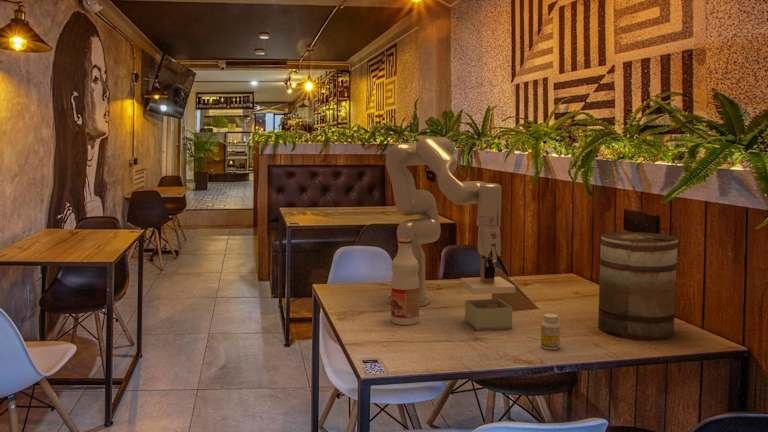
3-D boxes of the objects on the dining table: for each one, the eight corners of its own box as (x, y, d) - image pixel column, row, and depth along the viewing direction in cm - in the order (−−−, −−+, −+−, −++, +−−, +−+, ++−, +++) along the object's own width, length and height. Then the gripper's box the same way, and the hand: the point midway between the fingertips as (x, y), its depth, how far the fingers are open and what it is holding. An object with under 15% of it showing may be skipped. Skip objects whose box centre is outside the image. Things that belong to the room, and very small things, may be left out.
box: (476, 330, 204) (476, 309, 204) (464, 320, 216) (465, 300, 215) (511, 328, 207) (512, 307, 206) (498, 318, 218) (499, 298, 217)
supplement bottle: (554, 351, 184) (555, 318, 183) (537, 347, 187) (538, 315, 186) (562, 346, 188) (563, 315, 187) (546, 343, 191) (546, 311, 190)
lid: (473, 294, 202) (474, 263, 201) (460, 283, 216) (460, 254, 215) (515, 292, 205) (516, 261, 204) (499, 282, 218) (500, 253, 217)
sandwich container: (540, 309, 231) (541, 268, 229) (501, 312, 227) (501, 270, 226) (529, 303, 239) (530, 264, 238) (491, 306, 236) (492, 266, 234)
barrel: (679, 326, 208) (683, 235, 204) (667, 345, 189) (671, 244, 186) (607, 316, 220) (610, 230, 217) (589, 333, 201) (592, 238, 198)
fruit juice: (419, 325, 211) (419, 241, 208) (391, 325, 211) (390, 241, 208) (418, 317, 220) (418, 237, 217) (391, 318, 220) (390, 237, 217)
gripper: (509, 224, 200) (507, 282, 202) (491, 217, 216) (489, 271, 219) (486, 225, 199) (484, 283, 201) (469, 218, 215) (468, 271, 217)
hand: (487, 276), depth 210 cm, fingers closed on lid, 3 cm apart
